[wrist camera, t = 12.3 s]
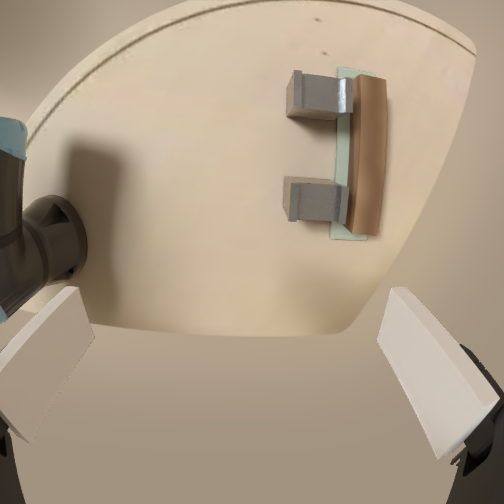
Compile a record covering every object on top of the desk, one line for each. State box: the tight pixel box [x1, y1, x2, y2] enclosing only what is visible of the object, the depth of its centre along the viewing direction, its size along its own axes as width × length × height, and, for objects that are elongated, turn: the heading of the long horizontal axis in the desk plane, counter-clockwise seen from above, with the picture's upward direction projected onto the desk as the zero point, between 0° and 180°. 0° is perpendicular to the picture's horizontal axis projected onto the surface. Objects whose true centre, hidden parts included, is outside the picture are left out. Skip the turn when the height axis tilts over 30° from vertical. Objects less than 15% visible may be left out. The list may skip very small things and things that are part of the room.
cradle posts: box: [283, 70, 353, 224], centre depth 29 cm, size 6×16×8 cm, turn 179°
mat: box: [329, 66, 376, 240], centre depth 32 cm, size 6×24×1 cm, turn 178°
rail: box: [343, 74, 387, 235], centre depth 30 cm, size 4×20×4 cm, turn 179°
